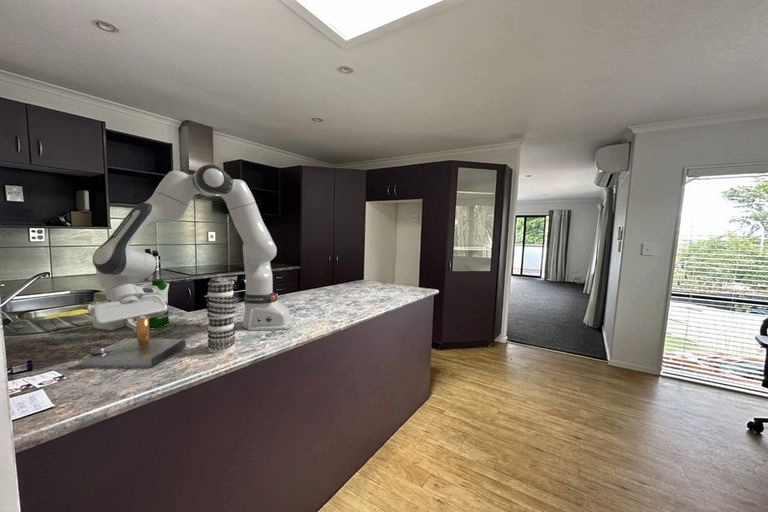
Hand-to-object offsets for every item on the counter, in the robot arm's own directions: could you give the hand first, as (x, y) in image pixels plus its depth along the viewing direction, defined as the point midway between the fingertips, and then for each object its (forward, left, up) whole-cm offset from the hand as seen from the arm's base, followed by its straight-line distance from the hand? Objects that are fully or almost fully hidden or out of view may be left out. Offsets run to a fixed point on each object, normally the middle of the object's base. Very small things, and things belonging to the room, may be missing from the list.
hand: (140, 330), depth 102 cm
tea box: (+30, -30, -8) cm, 43 cm away
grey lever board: (-1, +3, -8) cm, 8 cm away
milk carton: (+15, -28, -8) cm, 32 cm away
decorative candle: (-24, -5, -8) cm, 26 cm away
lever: (+2, +5, -4) cm, 7 cm away
